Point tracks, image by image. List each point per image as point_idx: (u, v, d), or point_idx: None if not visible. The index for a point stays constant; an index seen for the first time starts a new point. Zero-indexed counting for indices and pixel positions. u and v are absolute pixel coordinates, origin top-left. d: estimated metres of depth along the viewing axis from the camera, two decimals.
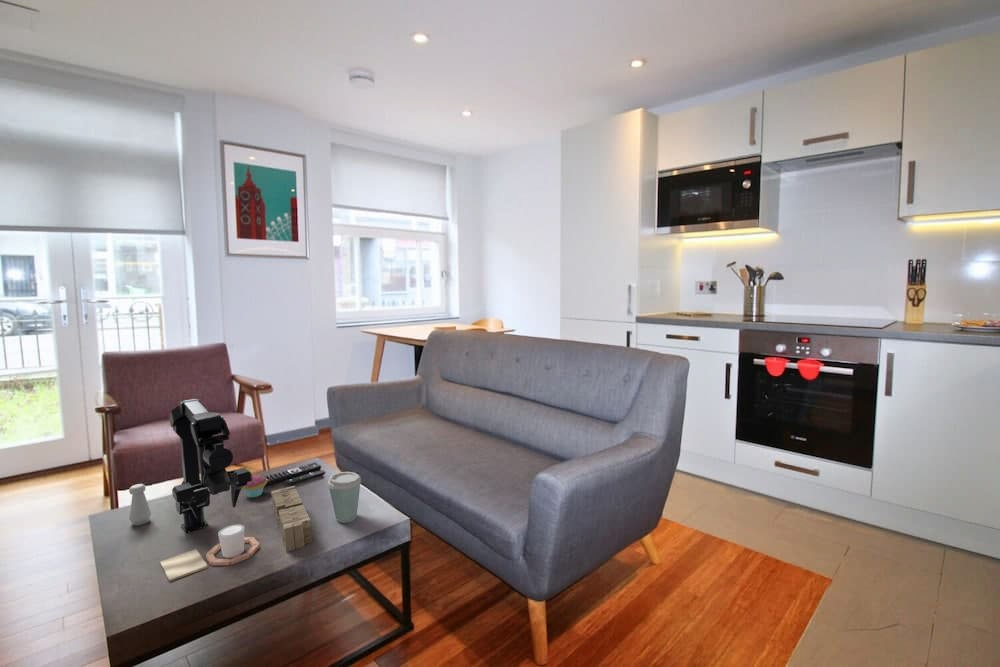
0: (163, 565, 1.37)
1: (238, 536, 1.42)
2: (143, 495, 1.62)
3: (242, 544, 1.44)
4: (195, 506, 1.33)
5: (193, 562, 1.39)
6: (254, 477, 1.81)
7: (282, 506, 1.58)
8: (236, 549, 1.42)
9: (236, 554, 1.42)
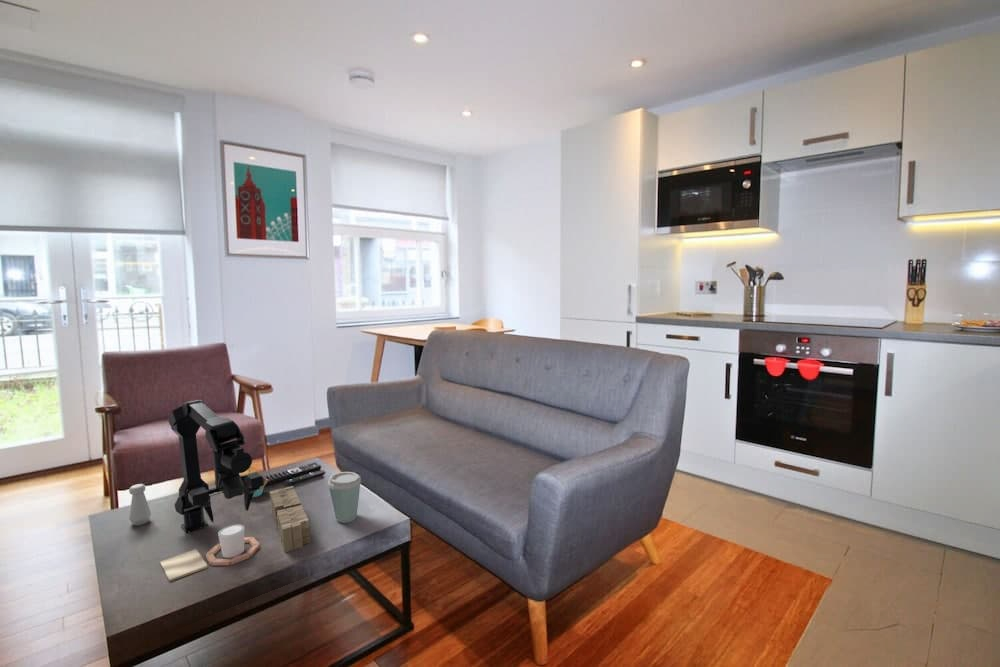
0: (163, 565, 1.37)
1: (238, 536, 1.42)
2: (143, 495, 1.62)
3: (242, 544, 1.44)
4: (210, 510, 1.38)
5: (193, 562, 1.39)
6: None
7: (280, 506, 1.57)
8: (236, 549, 1.42)
9: (236, 554, 1.42)
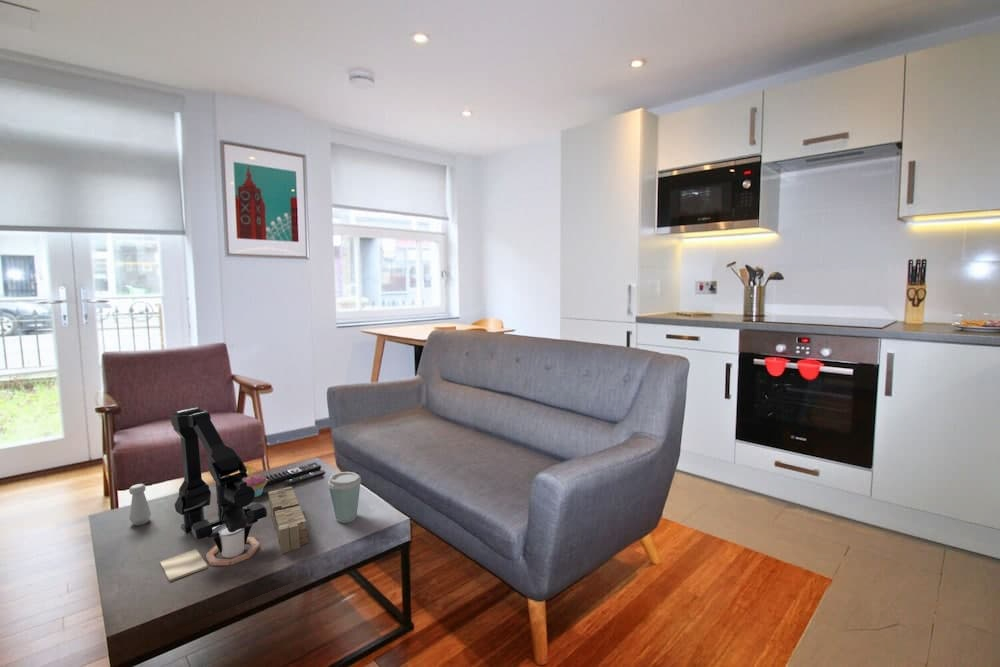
0: (163, 565, 1.37)
1: (238, 536, 1.42)
2: (143, 495, 1.62)
3: (242, 544, 1.44)
4: (218, 540, 1.40)
5: (193, 562, 1.39)
6: (254, 477, 1.81)
7: (278, 507, 1.57)
8: (236, 549, 1.42)
9: (236, 554, 1.42)
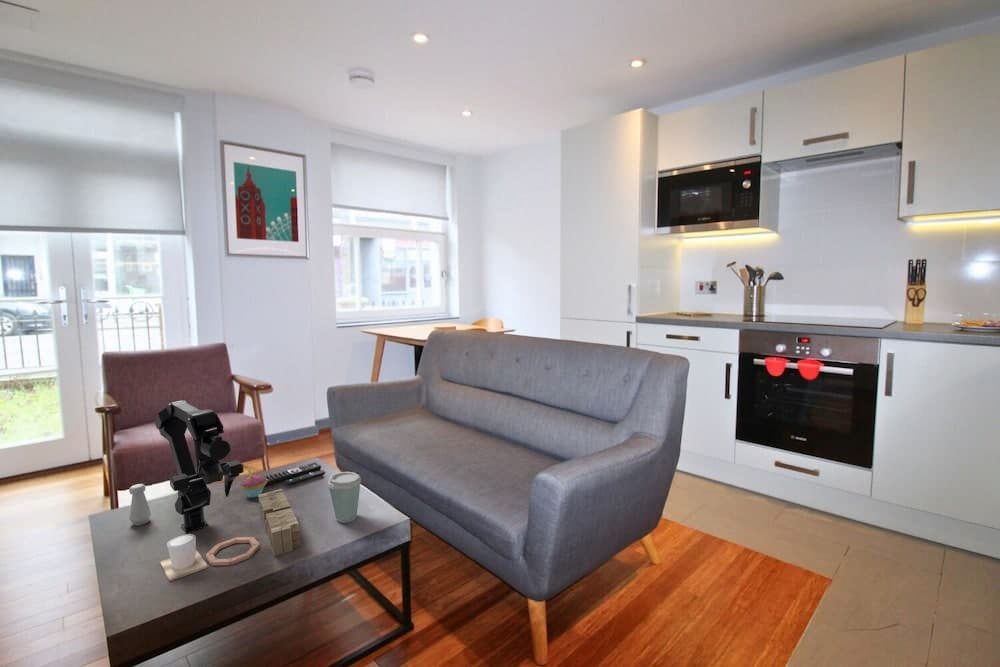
0: (163, 565, 1.37)
1: (188, 546, 1.36)
2: (143, 495, 1.62)
3: (193, 555, 1.38)
4: (191, 495, 1.45)
5: None
6: (254, 477, 1.81)
7: (269, 510, 1.55)
8: (186, 560, 1.36)
9: (186, 565, 1.36)
